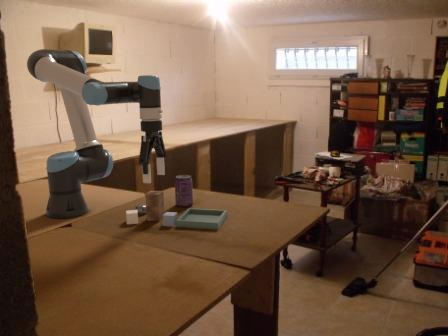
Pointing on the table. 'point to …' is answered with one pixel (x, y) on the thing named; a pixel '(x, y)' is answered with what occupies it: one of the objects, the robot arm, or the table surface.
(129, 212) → the cream cube
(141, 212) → the grey metal puck
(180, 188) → the beverage can
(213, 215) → the tray
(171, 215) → the slate-blue block
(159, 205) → the walnut block
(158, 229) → the table surface
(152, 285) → the table surface
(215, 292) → the table surface
